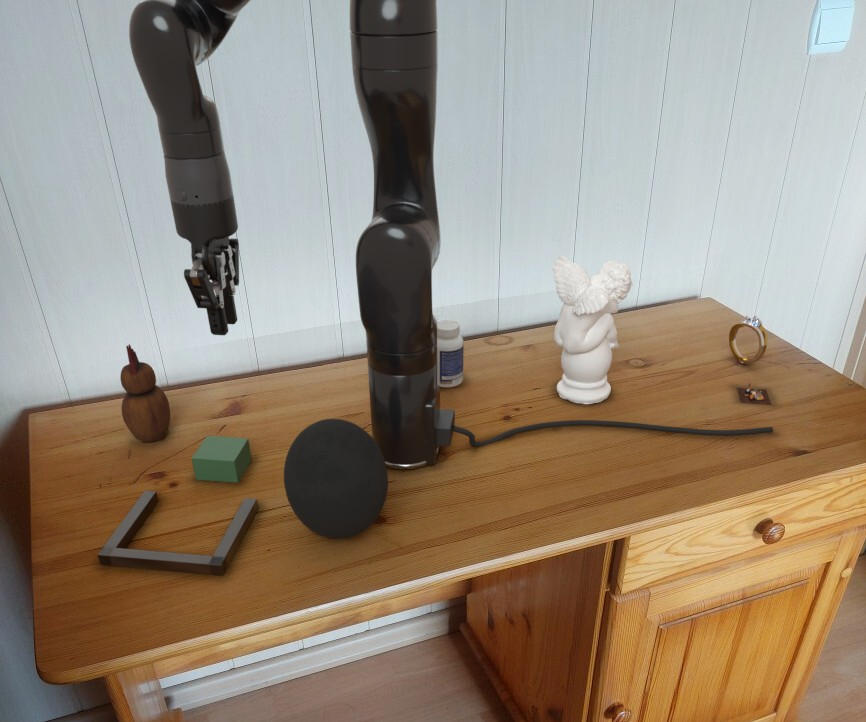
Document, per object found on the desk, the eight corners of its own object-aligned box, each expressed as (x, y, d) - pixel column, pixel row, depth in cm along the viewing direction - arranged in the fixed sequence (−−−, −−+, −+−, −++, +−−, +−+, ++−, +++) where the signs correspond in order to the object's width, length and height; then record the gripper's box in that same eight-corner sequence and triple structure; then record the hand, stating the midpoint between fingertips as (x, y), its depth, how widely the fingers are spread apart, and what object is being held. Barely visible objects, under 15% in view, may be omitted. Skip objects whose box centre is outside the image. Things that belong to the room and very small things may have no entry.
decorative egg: (340, 574, 95) (329, 466, 86) (271, 533, 102) (254, 428, 93) (410, 526, 103) (407, 421, 94) (342, 490, 109) (332, 389, 100)
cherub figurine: (612, 378, 134) (631, 243, 121) (628, 416, 124) (651, 273, 111) (538, 380, 134) (549, 244, 120) (549, 417, 124) (562, 274, 111)
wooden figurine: (160, 449, 118) (136, 352, 108) (123, 445, 119) (96, 349, 109) (180, 426, 123) (159, 332, 114) (145, 422, 124) (121, 328, 115)
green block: (252, 459, 115) (248, 438, 113) (238, 483, 111) (234, 461, 109) (211, 456, 116) (206, 435, 114) (196, 479, 111) (191, 458, 109)
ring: (764, 369, 137) (776, 323, 132) (749, 372, 136) (761, 327, 131) (735, 353, 142) (745, 308, 137) (720, 356, 140) (730, 311, 136)
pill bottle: (469, 378, 135) (470, 322, 129) (452, 391, 131) (452, 334, 125) (441, 370, 137) (441, 315, 131) (424, 383, 133) (423, 326, 127)
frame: (258, 508, 106) (256, 498, 105) (223, 576, 95) (220, 565, 94) (147, 500, 108) (144, 490, 107) (100, 565, 97) (97, 554, 96)
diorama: (744, 400, 128) (748, 388, 127) (741, 389, 131) (744, 377, 130) (764, 401, 128) (767, 389, 126) (760, 390, 131) (764, 378, 129)
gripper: (210, 211, 93) (234, 352, 104) (249, 178, 104) (267, 309, 115) (147, 209, 94) (178, 349, 104) (192, 177, 105) (216, 307, 115)
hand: (224, 327), depth 109 cm, fingers open, 3 cm apart
